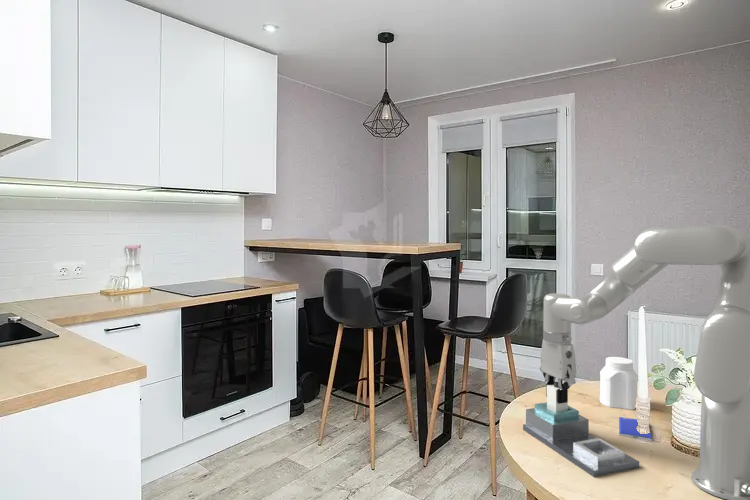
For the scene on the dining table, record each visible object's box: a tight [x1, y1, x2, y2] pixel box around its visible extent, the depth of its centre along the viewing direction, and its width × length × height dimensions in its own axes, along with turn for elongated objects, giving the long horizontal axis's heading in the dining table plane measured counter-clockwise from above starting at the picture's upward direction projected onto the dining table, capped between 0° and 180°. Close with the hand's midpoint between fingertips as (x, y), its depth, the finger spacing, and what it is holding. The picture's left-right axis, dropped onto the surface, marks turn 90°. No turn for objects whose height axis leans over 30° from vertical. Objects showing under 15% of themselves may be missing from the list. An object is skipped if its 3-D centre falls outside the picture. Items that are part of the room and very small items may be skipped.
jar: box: [599, 356, 639, 411], centre depth 157 cm, size 12×10×15 cm
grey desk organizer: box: [522, 401, 640, 478], centre depth 127 cm, size 28×14×8 cm, turn 18°
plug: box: [546, 381, 569, 413], centre depth 134 cm, size 4×4×9 cm
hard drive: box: [618, 416, 653, 442], centre depth 137 cm, size 2×8×12 cm
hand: (556, 399), depth 134 cm, fingers closed on plug, 4 cm apart
